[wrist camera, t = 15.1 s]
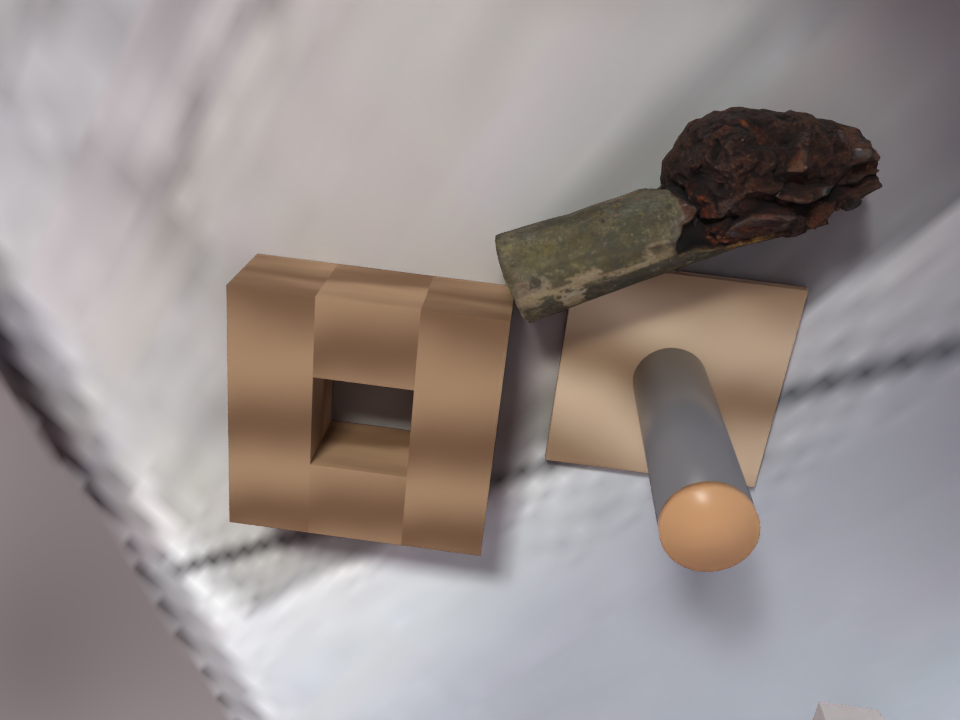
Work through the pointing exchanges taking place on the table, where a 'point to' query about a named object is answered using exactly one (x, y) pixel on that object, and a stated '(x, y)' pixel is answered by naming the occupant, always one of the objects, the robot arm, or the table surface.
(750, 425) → the light brown wooden board
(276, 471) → the socket block
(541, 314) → the brown lumpy club
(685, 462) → the plug
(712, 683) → the table surface
